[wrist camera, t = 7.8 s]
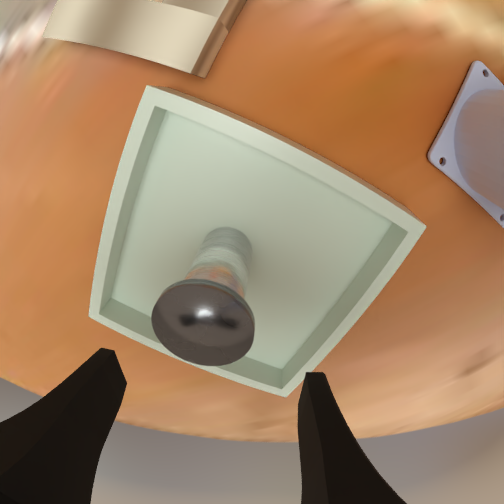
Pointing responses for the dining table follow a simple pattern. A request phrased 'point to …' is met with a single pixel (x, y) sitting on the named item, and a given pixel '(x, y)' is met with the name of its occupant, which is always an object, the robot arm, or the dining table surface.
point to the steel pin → (209, 303)
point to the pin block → (149, 28)
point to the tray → (252, 225)
